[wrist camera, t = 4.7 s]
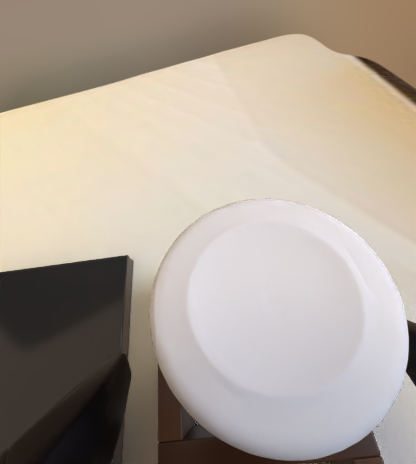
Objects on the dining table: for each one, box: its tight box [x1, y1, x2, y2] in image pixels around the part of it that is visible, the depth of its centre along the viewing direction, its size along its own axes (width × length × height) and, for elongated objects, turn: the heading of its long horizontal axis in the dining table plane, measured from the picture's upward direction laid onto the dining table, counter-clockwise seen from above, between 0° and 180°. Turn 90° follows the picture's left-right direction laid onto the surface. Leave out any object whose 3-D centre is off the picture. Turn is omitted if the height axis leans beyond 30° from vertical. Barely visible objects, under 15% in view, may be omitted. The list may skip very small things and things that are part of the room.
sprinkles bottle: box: [149, 199, 409, 461], centre depth 10 cm, size 5×5×14 cm
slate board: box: [0, 255, 133, 464], centre depth 15 cm, size 20×12×1 cm, turn 6°
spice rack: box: [158, 364, 384, 464], centre depth 12 cm, size 18×10×4 cm, turn 6°
